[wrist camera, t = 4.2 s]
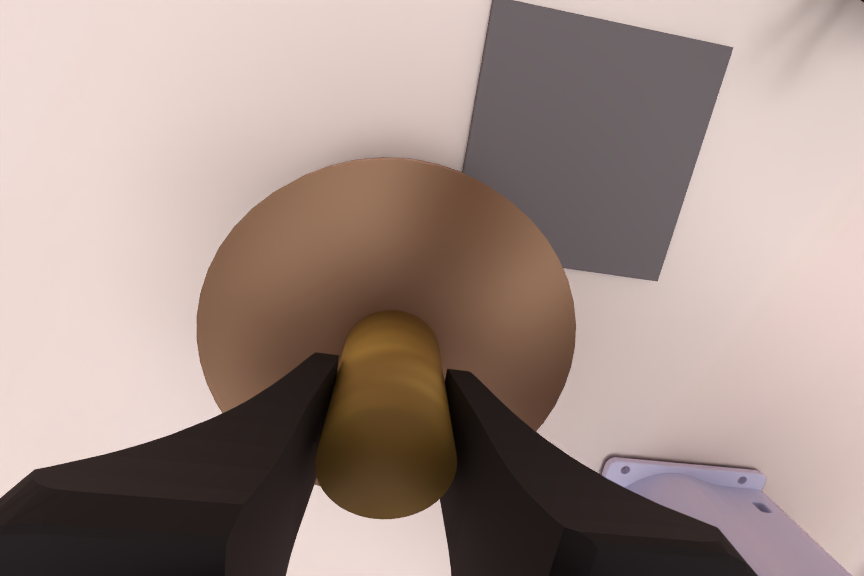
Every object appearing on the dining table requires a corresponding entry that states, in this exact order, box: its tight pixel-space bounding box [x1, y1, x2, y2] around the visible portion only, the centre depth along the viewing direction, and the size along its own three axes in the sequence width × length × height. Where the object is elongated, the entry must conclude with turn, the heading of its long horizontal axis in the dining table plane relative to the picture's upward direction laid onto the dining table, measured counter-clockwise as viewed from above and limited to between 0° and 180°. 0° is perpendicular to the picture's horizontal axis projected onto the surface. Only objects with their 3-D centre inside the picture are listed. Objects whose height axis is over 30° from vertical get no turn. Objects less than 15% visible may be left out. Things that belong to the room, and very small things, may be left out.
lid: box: [197, 157, 576, 519], centre depth 11 cm, size 11×11×5 cm
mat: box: [463, 0, 733, 281], centre depth 19 cm, size 10×10×1 cm
